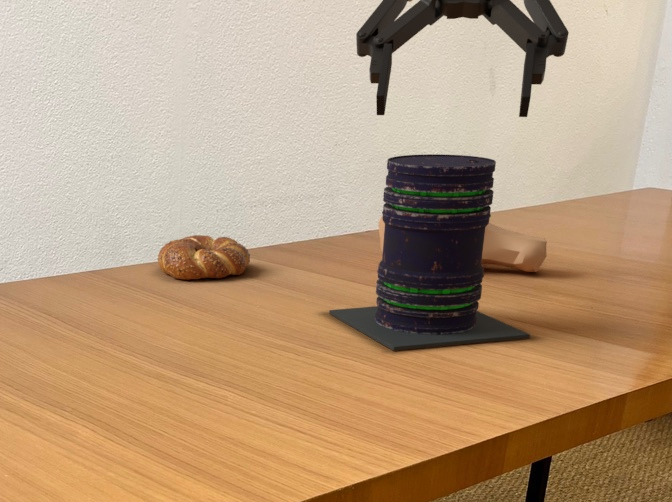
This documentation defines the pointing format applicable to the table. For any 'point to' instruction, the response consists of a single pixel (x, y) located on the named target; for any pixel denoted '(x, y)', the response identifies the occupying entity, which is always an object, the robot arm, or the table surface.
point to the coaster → (398, 340)
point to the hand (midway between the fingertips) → (451, 106)
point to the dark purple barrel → (433, 242)
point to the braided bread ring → (203, 257)
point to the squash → (505, 248)
